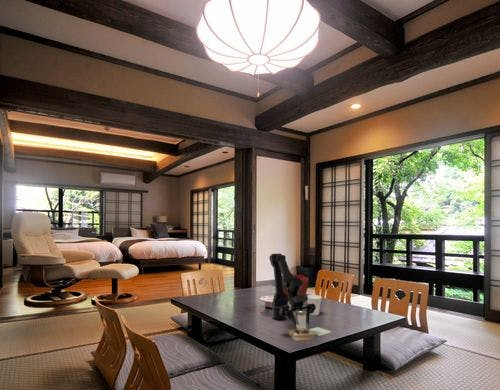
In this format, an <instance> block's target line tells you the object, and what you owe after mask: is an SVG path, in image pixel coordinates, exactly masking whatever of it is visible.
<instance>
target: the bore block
mask: <svg viewBox="0 0 500 390" xmlns="http://www.w3.org/2000/svg"><path fill="white" fill-rule="evenodd" d="M309 329H310V328H307V327H306V334H297V333H296V328H290V329H288V335H289V336H290V337H291V338H292V339H293V340H294V341H295V342H301V341H313V340H316V337H315V336H316V335H315V334H314V333H312V332H311V331H310V330H309Z"/></svg>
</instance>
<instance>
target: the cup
mask: <svg viewBox="0 0 500 390" xmlns="http://www.w3.org/2000/svg"><path fill="white" fill-rule="evenodd" d="M307 297H308V300H307V301H306V302H307V304H315V306H316V309H315V311H314V313H312V314H309V316H318V315H320V310H321V309H320V308H321V303H322V298H323V297H322V296H320V295H316V294H310V295H309V294H307Z"/></svg>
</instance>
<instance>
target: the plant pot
mask: <svg viewBox="0 0 500 390" xmlns="http://www.w3.org/2000/svg"><path fill="white" fill-rule="evenodd" d="M293 275H294V276H297V278H299V279H301V280H302V282H303V284H302V286H301V288H300V291H299V292H298V294H299V296H302V295H303V294H307V292H308V286H309V280H310V279H309V278H308V277H307V276H304V275H303V274H293ZM282 279H283V275H282ZM287 289H288V288H284V287H283V292H284V293H285V294H286V295H287ZM287 300H288V302H289V298H288V295H287Z"/></svg>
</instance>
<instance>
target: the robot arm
mask: <svg viewBox="0 0 500 390" xmlns="http://www.w3.org/2000/svg"><path fill="white" fill-rule="evenodd" d="M286 258H287V257H286V255H285V254H282V253H271V254H270V255H269V261H270V265H271V267H272V268H273V277H274V286H275V288H274V290H275V292H274V294H273V300H272V302H271V308H272V309H273V317H272V320H276V321H283V320H286V319H287V318H288V319H289V320H290V321H291V322H292V324H294V325H295V326H296V325H297V324H296V316H295V314H294V312H295V310H296V309H305V310H307V313H306V325H308V326H309V325H310V314H312V313H314V311H315V309H316V306H315V304H308V303H307V304H306V306H304V303H306V302H307V300H308V297H307V296H308V294H307V293H306V294H303V295H302V296H299V294H298V292H299V291H300V288H301V286H302V284H303V282H302V280H301V279H299V278H297V276H294V275H295V274H293V273H291V271H290V268H289V266H288V262H287V259H286ZM282 276H283V279H282ZM283 287H284V288H288V289H287V295H288V298H289V301H288V300H287V295H286V294H285V293H284V292H283ZM288 304H289V305H288Z"/></svg>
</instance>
